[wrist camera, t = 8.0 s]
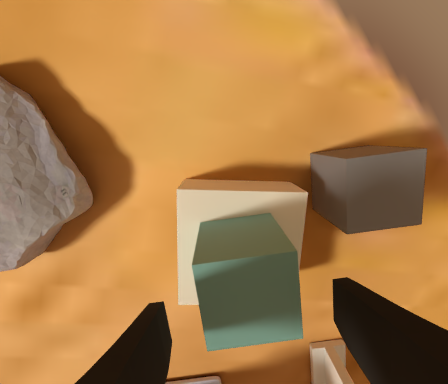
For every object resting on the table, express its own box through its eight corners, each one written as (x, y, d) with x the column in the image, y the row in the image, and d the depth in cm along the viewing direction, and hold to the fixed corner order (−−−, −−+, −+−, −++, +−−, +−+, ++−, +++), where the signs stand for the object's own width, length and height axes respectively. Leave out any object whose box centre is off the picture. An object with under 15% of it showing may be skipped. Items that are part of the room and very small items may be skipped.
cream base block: (279, 272, 20) (295, 305, 16) (185, 271, 20) (178, 304, 16) (288, 180, 18) (308, 192, 14) (185, 178, 18) (176, 189, 14)
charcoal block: (367, 201, 18) (421, 224, 14) (312, 208, 18) (346, 234, 14) (368, 145, 17) (426, 148, 13) (309, 153, 17) (346, 159, 13)
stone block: (12, 62, 17) (-106, 148, 16) (-48, 25, 12) (-218, 143, 12) (127, 184, 20) (31, 263, 19) (113, 191, 15) (-15, 296, 14)
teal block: (276, 275, 15) (303, 338, 11) (210, 284, 15) (207, 351, 11) (270, 212, 14) (297, 250, 10) (200, 222, 14) (191, 265, 10)
